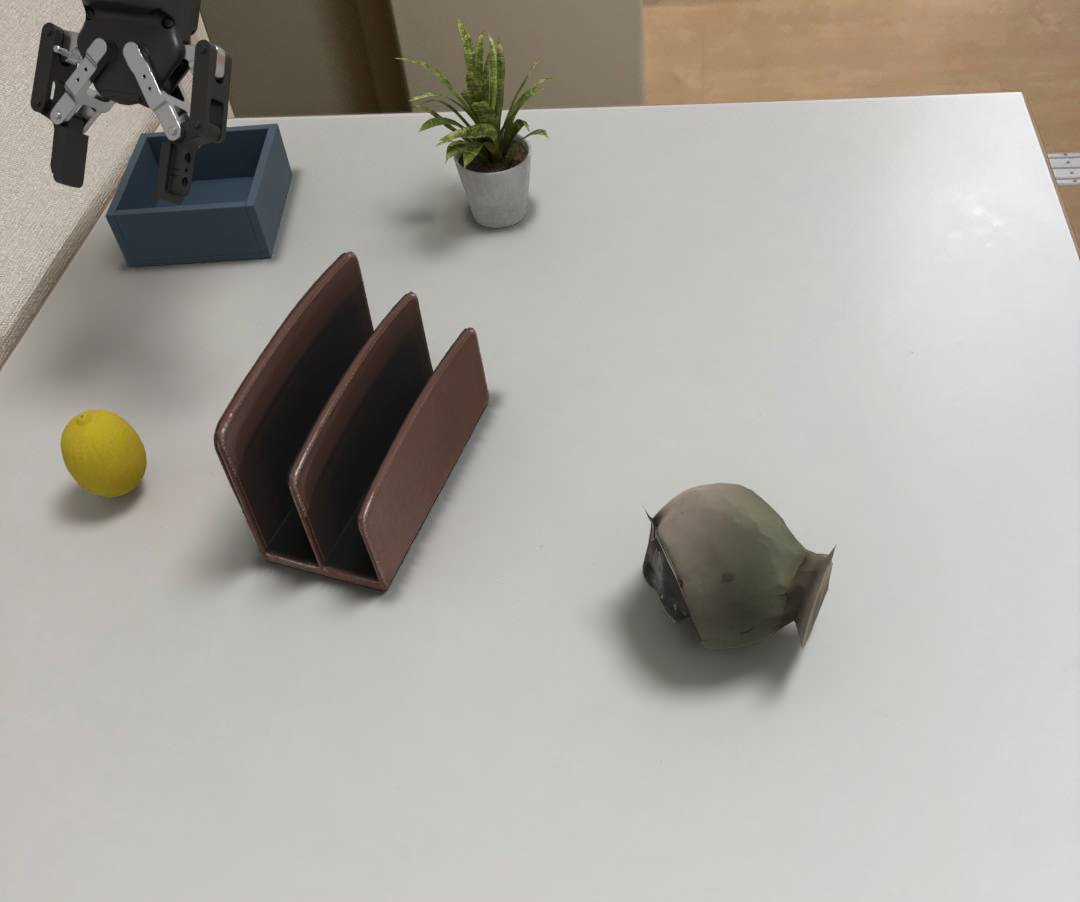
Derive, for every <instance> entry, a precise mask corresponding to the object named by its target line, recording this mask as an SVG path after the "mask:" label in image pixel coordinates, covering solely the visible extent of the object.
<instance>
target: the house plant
mask: <svg viewBox="0 0 1080 902" xmlns="http://www.w3.org/2000/svg"><path fill="white" fill-rule="evenodd" d="M456 24H457V28H458V32H459V37H460V41H461V44H462V50H463V55H464V57H463V58H464V62H465V68H466V71H467V72H466V74H465V84H466V88H467V89H464V90H462V91H461V92H460V95H461V96H460V95H459V93H458V92H457V91H456V89H455V88H454V87H453V85H452V84H451V82H450V81H449V80H448V79H447V78H446V76H445V75H444V74H443V73H442V72H441V71H439V69H437V68H436V67H434V66H432V65H429V64H428V63H425V62H423V61H421V60H418V59H413V58H409V57H408V58H407V57H394V59H395V60H401V61H406V62H411V63H413V64H415V65H418V66H421V67H422V68H424V69H426V70H428V71H429V72H430V73H432V74H433V75H435V77H436V78H437V79H438V80H439V81H440V82H441V83H442V84H443V85H444V87H445V88H446V89H447V90H448V91H449V92H450V93H451V94H452V95H453V96H454V97H455V98H456V100H457V101H456V100H455V99H452V98H450V97H447V96H445V95H443V94H440V93H437V92H434V91H433V92H432V91H430V92H425V93H422V94H419V95H417V96H414V97H412V98H411V99H409V100H408V101H407V103H409V102H413V101H416V100H420V99H423V98H427V97H443V98H446V99H448V100H450V101H452V102H453V103H455V105H457V106H458V107H460V108H461V109H462V110H463V111H464V112H465V113H466V114H467V115H468V117H469V118H470V119H471V120H472V121H473V123H474V124H472V125H471V124H470V123H469V121H467V120H466V118H465V117H464V116H463V115H462V114H461V113H460V112H459V111H458V110H457V109H456V108H455V107H454V106H452V105H451V104H450V103H448V102H446V101H444V100H439V99H428V100H426V101H424V102H422V103H421V104H419V105H418V104H410V105H409V106H410V107H414V108H418V109H420V110H423V111H425V112H426V113H428V114H430V115H431V116H433V117H431V118H429V119H427V120H426V121H425V122H424V123H423V124H422V125H421V126H420V127H419V130H418V132H417V134H419V133H420V132H424V131H427V130H429V129H431V128H434V127H438V126H444V127H445V128H446V129H448V130H450V132H449V133H447V134H446V135H445V136H443V137H442V138H440V139H439V140H438V142H439V143H437V144H435V147H437V146H441V145H444V144H446V143H448V145H447V147H446V154H445V162H444V164H445V165H447V162H448V160H449V159H451V158H453V161H454V164H455V167H456V170H457V173H458V177H459V179H460V181H461V185H462V187H463V190H464V194H465V196H466V199H467V203H468V205H469V208H470V211H471V214H472V217H473V219H474V221H475V222H476V223H477V224H479V225H480V226H483V227H487V228H491V229H501V228H507V227H511V226H513V225H516V224H517V223H519V222H520V221H522V220H523V219H524V218H525V217H526V215H527V213H528V204H529V189H530V179H531V178H530V177H531V166H532V165H531V163H532V145H531V144H530V141H529V140H528V139H527V138H528V137H531V136H535V135H541V136H544V137H545V138H547V140H550V138H549V136H548V134H547V131H546V130H545V129H543V128H538V129H535V130H533V131H531V130H530V126H529V123H528V122H527V120H524V119H521V118H517V119H515V118H516V116H517V115H518V114H519V111H520V110H521V108H522V107H523V105H524V104H525V103H526V102H528V101H529V100H530V99H531V98H532V97H533V96H534V95H535V94H537V93H538V92H540V91H542V90H545V88H544V87H540V86H538V85H540V84H542V83H545V82H548V81H551V80H552V81H554V79H553V78H549V77H546V78H541V79H539V80H537V81H535V82H534V83H533V84H531V86H530V87H529V88H528V90H525V92H523V94H521V96H520V97H518V95H519V94H520V92H521V91H522V89H523V88H524V86H525V84H526V83H527V81H528V79H529V78H530V76H531V74H532V73H533V70H534V69H535V67H536V66H537V64H538V62H539V61H540V59H541V57H542V56H543V54H544V52H543V53H542V54H541V55H540V56H539V57H538V59H537V60H536V61H535V62H534V63H533V64H532V66H531V67H530V69H529V71H528V72H527V74H526V75H525V76H526V77H525V78H524V80H523V81H522V83H521V84H520V86H519V88H518V90H517V91H516V92H515V95H514V97H513V99H512V102H511V104H510V105H509V109H508V111H507V114H506V116H505V119H504V122H503V124H502V115H503V108H504V101H505V100H504V99H505V98H504V96H505V80H506V59H505V53H504V49H503V45H502V42H501V40H500V37H499V36H497V42H496V45H495V42H494V40H493V37H492V36H491V34H490V32H489V31H487V35H488V36H487V39H488V44H489V45H488V52H487V55H486V57H485V62H484V37H485V29H483V30H482V31H481V33H480V35H479V37H478V39H477V41H476V46H475V47H474V42H473V39H472V37H471V36H470V33H469V32H468V30H467V29H466V28H465V25H464V23H463V21H461V20H460V19H459V18H456ZM495 46H496V47H495ZM496 49H497V50H496ZM517 98H518V99H517ZM429 102H439V103H441V104H443V105H444V106H446V107H447V108H448V109H449V110H451V111H452V112H453V113H454V114H455V115H456V117H458V118H459V119H460V120H461V122H463V124H464V125H465V126H464V125H462V124H461V123H460V122H458V121H456V120H454V119H452V118H449V117H443V116H442V115H440V114H439V113H438V112H436V111H435V110H434V109H432V108H430V107H428V106H424V104H426V103H429ZM501 124H502V127H501ZM455 127H458V129H457V128H455ZM523 128H525V129H526V130H527V132H529V133H528V134H526V135H525V136H523V135H521V134H519V132H520V131H521V130H522V129H523ZM530 131H531V132H530ZM460 138H461V139H460ZM456 139H457V140H456Z"/></svg>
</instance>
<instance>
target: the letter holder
mask: <svg viewBox="0 0 1080 902" xmlns="http://www.w3.org/2000/svg"><path fill="white" fill-rule="evenodd" d="M361 269H362V268H361V266H360V261H359V258H358V256H357V255H356V254H355V252H354V251H351V250H349V251H347V252H342V253H341V254H340V255H338V257H337V258H336V259H335V260H334V261H333V262H332V263H331V264H330V265H329V266H328V267H326V269H325V270H324V271H323V272H322V273H321V275H319V277H318V278H317V279H316V280H315V281H314V282H313V283H312V284H311V286H310V287H309V288H308V289H307V291H306V292H305V293H304V295H303V296H301V298H300V299H299V300H298V302H297V303H296V304H295V305H294V307H293V308H292V309H291V310H290V311H289V313H288V314H287V316H286V317H285V318H284V320H283V321H282V323H281V324H280V326H279V327H278V329H277V330H276V331H275V333H274V335H272V336H271V338H270V340H269V342H268V343H267V344H266V345H265V347H264V348H263V350H262V351H261V353H260V354H259V356H258V357H257V358H256V360H255V362H254V363H253V365H252V366H251V368H250V369H249V370H248V372H247V374H246V376H245V377H244V378H243V379H242V381H241V383H240V384H239V387H238V388H237V389H236V391H235V392H234V395H233V396H232V397H231V399H230V401H229V403H228V404H227V406H226V408H225V410H224V411H223V413H222V414H221V416H220V418H219V420H218V421H217V424H216V427H215V429H214V433H213V446H214V450H215V454H216V456H217V458H218V460H219V462H220V465H221V467H222V469H223V472H224V474H225V476H226V479H227V481H228V483H229V486H230V487H231V488H230V489H232V492H233V494H234V496H235V499H236V500H237V503H238V505H239V507H240V510H241V513H242V514H243V516H244V519H245V522H246V523H247V526H248V528H249V529H250V533H251V534H252V536H253V538H254V541H255V543H256V545H257V548H258V551H259V554H260V556H261V557H262V558H263V559H264V561H265V562H267V563H274V564H278V565H283V566H286V567H290V568H294V569H297V570H302V571H305V572H308V573H314V574H316V575H321V576H325V577H328V578H331V579H335V580H341V581H345V582H348V583H351V584H357V585H359V586H363V587H368V588H371V589H376V590H379V591H387V589H388V588H389V586H390V584H391V582H392V580H393V579H394V577H395V575H396V573H397V571H398V569H399V567H400V566H401V564H402V562H403V559H405V557H406V555H407V553H408V551H409V549H410V547H411V545H412V543H413V541H414V540H415V538H416V536H417V535H418V532H419V530H420V528H421V527H422V526H423V523H424V522H425V520H426V518H427V515H428V513H429V512H430V510H431V508H432V507H433V505H434V503H435V501H436V500H437V497H438V496H439V494H440V492H441V490H442V489H443V487H444V485H445V483H446V481H447V479H448V478H449V475H450V474H451V472H452V470H453V468H454V466H455V464H456V463H457V460H458V459H459V457H460V454H461V453H462V452H463V450H464V447H465V446H466V444H467V442H468V440H469V438H470V436H471V435H472V433H473V431H474V429H475V427H476V425H477V423H478V421H479V419H480V417H481V416H482V413H483V412H484V410H485V408H486V406H487V405H488V403H489V400H490V393H489V388H488V384H487V378H486V372H485V368H484V367H485V366H484V363H483V358H482V354H481V349H480V344H479V339H478V335H477V331H476V329H475V328H474V327H465V328H464V329H462V331H461V332H460V333H459V335H458V336H457V338H456V339H455V340H454V342H453V343H452V344H451V345H450V346H449V349H448V350H447V351H446V352H445V353H444V355H443V357H442V358H441V359H440V361H439V363H438V365H437V366H436V367H435V369H434V368H433V364H432V359H431V353H430V351H429V347H428V341H427V336H426V331H425V329H424V328H425V327H424V322H423V317H422V312H421V307H420V302H419V297H418V296H417V294H416V293H415V292H413V291H409V292H407V293H405V294H404V295H402V297H401V298H400V299H399V301H397V303H396V304H394V305H393V307H392V308H391V309H390V310H389V311H388V312H387V314H386V315H385V316H384V317H383V318H382V320H381V321H380V323H379V324H378V325H377V326H376V327H375V328H374V325H373V320H372V315H371V312H370V307H369V302H368V298H367V291H366V287H365V284H364V283H365V282H364V279H363V278H364V277H363V274H362V270H361Z"/></svg>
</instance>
